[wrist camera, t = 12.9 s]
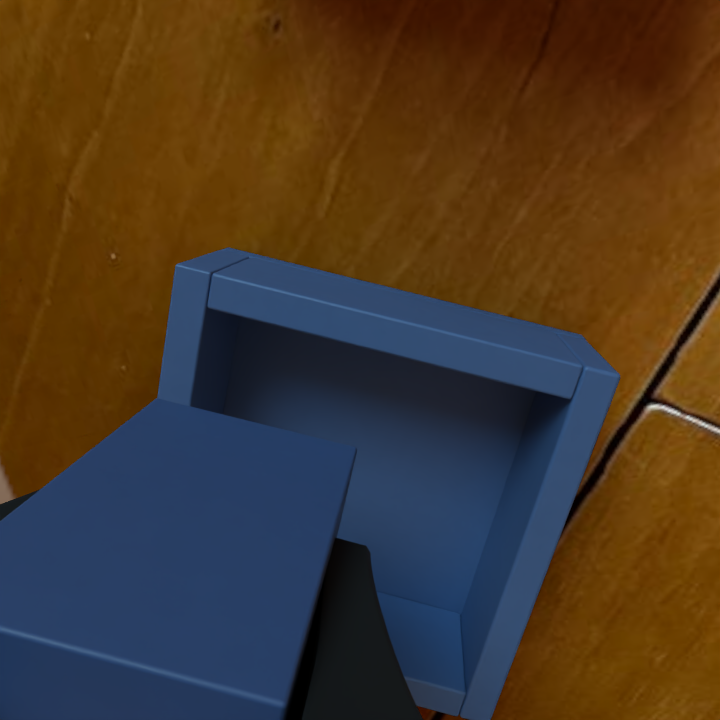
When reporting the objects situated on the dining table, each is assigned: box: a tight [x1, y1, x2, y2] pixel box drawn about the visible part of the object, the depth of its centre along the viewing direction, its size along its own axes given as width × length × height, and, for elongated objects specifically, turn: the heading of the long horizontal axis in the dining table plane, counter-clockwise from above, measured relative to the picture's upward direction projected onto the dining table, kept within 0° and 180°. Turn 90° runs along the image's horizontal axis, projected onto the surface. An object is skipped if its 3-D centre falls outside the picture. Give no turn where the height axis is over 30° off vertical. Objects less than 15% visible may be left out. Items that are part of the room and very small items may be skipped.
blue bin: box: [157, 248, 620, 720], centre depth 16 cm, size 10×10×4 cm
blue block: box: [0, 399, 357, 720], centre depth 9 cm, size 4×4×6 cm
